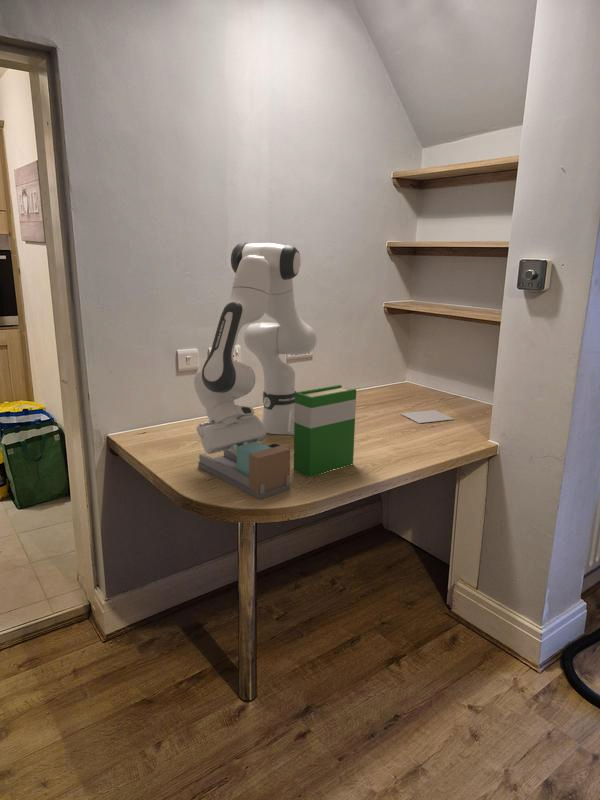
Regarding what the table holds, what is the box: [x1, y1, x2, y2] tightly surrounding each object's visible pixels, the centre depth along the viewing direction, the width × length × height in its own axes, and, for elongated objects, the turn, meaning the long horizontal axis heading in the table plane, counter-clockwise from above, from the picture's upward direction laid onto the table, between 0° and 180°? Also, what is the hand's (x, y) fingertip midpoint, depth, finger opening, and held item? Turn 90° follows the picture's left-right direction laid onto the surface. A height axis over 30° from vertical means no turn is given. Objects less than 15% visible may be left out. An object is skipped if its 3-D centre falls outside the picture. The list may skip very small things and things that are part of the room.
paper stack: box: [399, 409, 454, 424], centre depth 225 cm, size 23×25×1 cm
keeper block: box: [237, 441, 271, 476], centre depth 160 cm, size 7×7×9 cm
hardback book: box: [293, 384, 357, 478], centre depth 172 cm, size 18×7×24 cm, turn 129°
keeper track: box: [197, 445, 292, 500], centre depth 165 cm, size 11×30×12 cm, turn 42°
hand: (245, 458), depth 163 cm, fingers closed, pressing on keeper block
